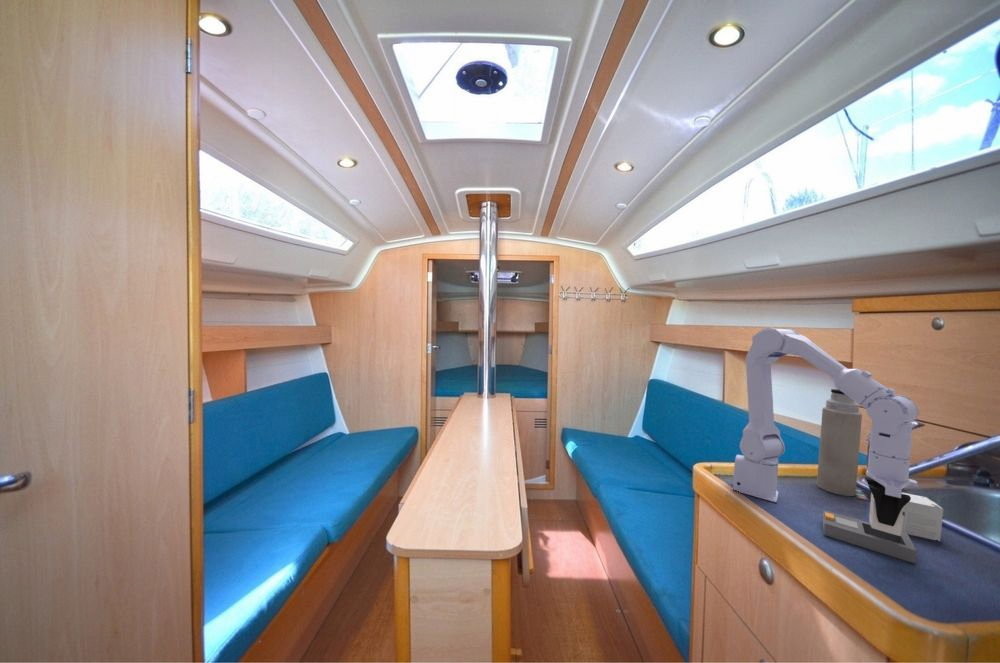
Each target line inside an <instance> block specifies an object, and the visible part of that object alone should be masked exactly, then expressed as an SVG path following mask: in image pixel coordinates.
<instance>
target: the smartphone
mask: <svg viewBox="0 0 1000 663" xmlns="http://www.w3.org/2000/svg"><path fill="white" fill-rule="evenodd" d="M854 497H855V498H856V500H858V499H859V501H862V502H867V503H870V502H871V491H868V490H863V489H859V488H856V494H855V495H854Z"/></svg>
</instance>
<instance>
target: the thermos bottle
mask: <svg viewBox="0 0 1000 663" xmlns="http://www.w3.org/2000/svg"><path fill="white" fill-rule="evenodd" d="M830 392H831V394H830V398H828V399H826V401H825V402H826V403H825V406H823V407H822V412H821V424H820V438H819V439H820V440H819V451H818V462H817V463H818V466H817V476H816V478H817V479H816V486H818V488H820V489H822V490H824V491H827V492H830V493H833V494H837V495H840V496H846V497H847V496H848V497H855V494H856V489H857V483H858V482H857V481H858V471H859V457H860V456H859V455H860V454H859V453H860V446H861V444H860V443H861V432H862V419H863V417H862V416H863V414H862V412H860V405H859V404H858V403H856V402H855V401H854V400H852V399H851V398H850V397H848V396H847V395H846V394H844V393H843V392H842V391H840V390H839V389H838V388H831V389H830Z"/></svg>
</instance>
